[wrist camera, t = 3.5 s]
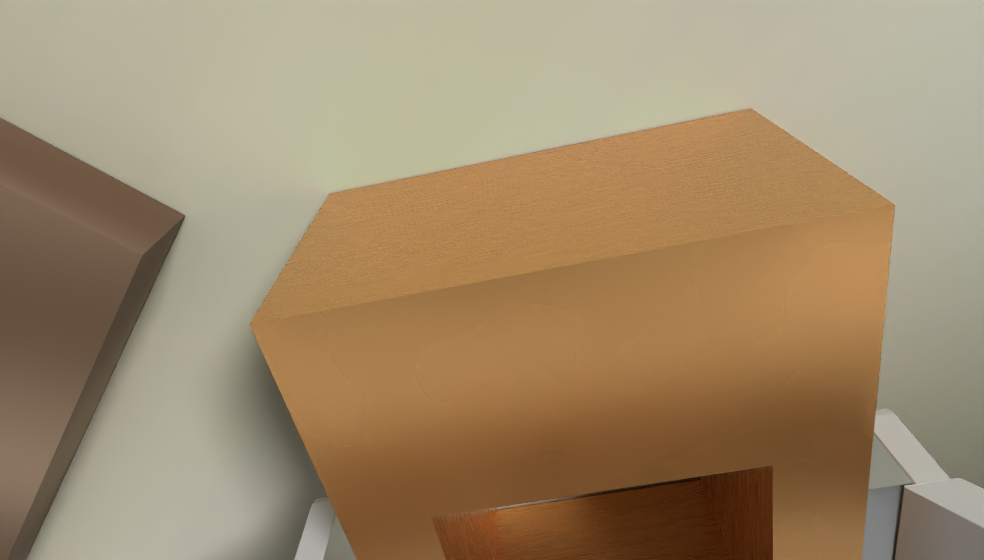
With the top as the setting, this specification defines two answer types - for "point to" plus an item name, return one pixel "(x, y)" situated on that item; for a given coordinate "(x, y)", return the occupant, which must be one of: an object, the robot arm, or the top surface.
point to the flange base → (62, 312)
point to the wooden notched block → (594, 351)
